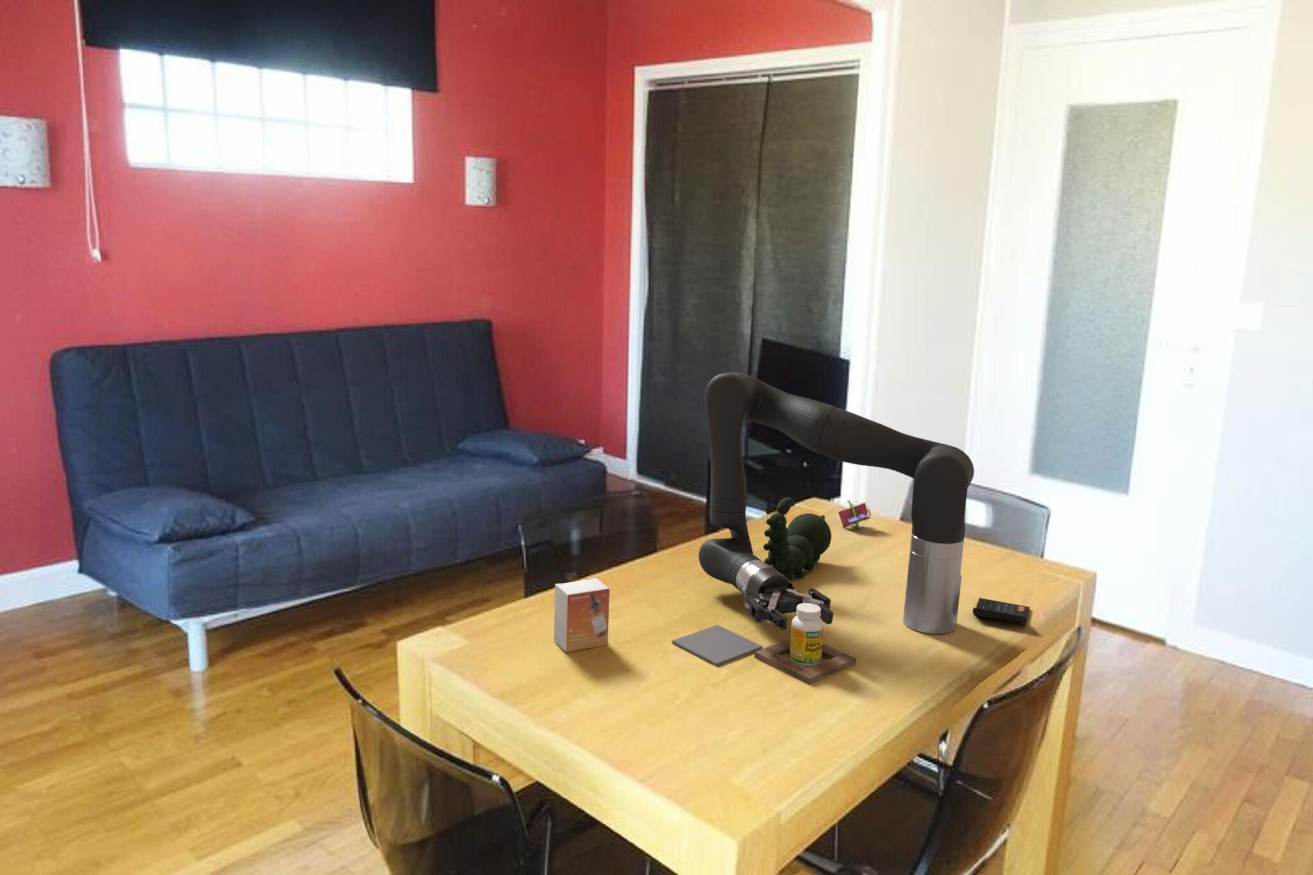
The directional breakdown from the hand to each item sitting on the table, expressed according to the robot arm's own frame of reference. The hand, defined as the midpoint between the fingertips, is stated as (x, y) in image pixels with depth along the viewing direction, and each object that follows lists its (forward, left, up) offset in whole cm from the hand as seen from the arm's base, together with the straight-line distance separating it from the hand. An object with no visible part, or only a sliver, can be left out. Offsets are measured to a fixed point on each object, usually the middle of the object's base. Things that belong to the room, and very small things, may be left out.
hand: (808, 621), depth 165 cm
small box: (+26, -28, -7) cm, 39 cm away
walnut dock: (0, 0, -7) cm, 7 cm away
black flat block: (-45, +10, -8) cm, 47 cm away
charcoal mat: (+8, -13, -7) cm, 17 cm away
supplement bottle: (0, 0, -7) cm, 7 cm away
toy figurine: (-31, -29, -7) cm, 43 cm away
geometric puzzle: (-64, -40, -7) cm, 76 cm away
